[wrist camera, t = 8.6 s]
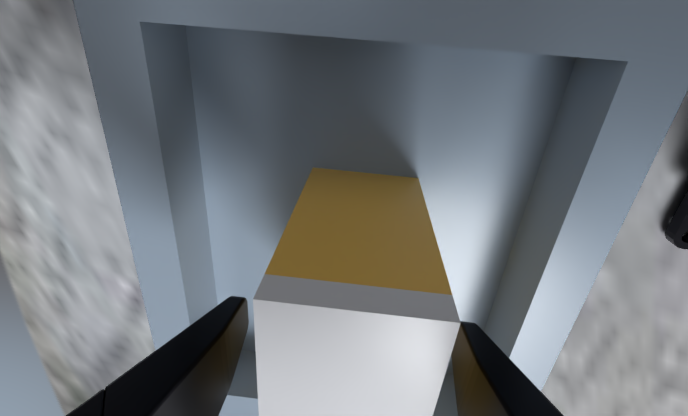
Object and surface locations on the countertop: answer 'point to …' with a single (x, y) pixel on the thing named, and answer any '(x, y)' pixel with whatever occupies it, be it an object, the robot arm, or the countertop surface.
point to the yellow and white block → (354, 303)
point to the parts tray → (385, 142)
